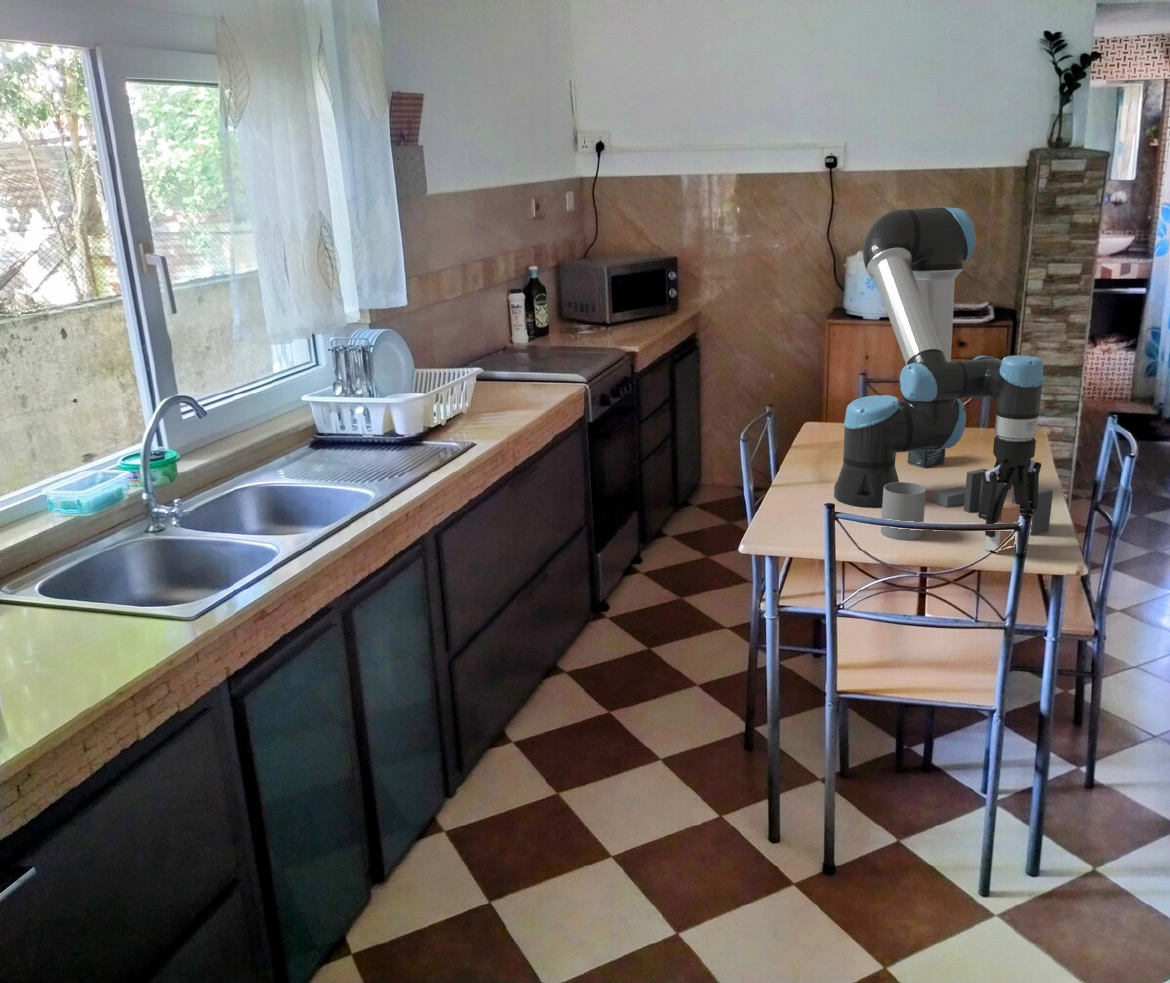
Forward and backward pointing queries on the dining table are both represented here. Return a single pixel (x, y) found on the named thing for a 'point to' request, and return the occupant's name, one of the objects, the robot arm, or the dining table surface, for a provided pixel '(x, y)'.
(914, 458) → the box
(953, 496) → the block
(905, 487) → the cup
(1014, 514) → the domino
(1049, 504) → the domino
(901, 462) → the dining table surface
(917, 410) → the robot arm
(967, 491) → the domino
